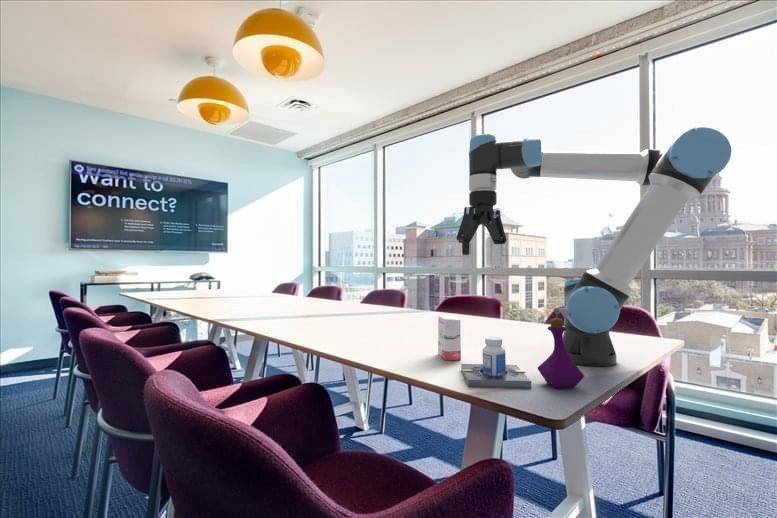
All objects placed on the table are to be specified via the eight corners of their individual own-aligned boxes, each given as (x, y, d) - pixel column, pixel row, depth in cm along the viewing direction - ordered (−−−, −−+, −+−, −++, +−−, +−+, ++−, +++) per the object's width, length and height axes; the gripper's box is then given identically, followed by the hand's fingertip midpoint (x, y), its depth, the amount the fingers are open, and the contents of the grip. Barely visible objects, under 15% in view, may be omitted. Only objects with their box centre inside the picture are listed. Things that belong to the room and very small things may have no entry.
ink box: (461, 360, 116) (461, 319, 116) (444, 360, 116) (444, 319, 116) (453, 353, 125) (453, 314, 125) (437, 353, 125) (437, 315, 124)
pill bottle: (504, 376, 101) (505, 336, 101) (506, 382, 96) (506, 340, 96) (482, 374, 102) (482, 335, 102) (482, 381, 97) (482, 339, 97)
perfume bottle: (536, 381, 96) (537, 305, 96) (567, 380, 97) (567, 305, 97) (552, 391, 89) (552, 309, 89) (585, 390, 90) (585, 309, 90)
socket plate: (517, 370, 105) (517, 363, 105) (533, 388, 91) (533, 379, 91) (459, 369, 106) (459, 362, 106) (466, 386, 92) (466, 378, 92)
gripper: (465, 184, 104) (465, 267, 104) (518, 194, 120) (518, 266, 120) (443, 188, 109) (443, 267, 109) (496, 197, 126) (496, 266, 126)
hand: (482, 267), depth 115 cm, fingers open, 13 cm apart
